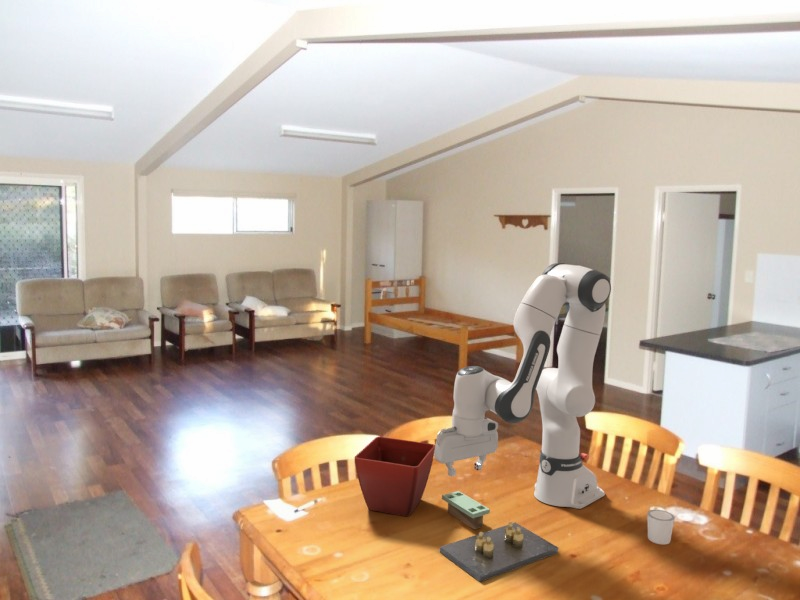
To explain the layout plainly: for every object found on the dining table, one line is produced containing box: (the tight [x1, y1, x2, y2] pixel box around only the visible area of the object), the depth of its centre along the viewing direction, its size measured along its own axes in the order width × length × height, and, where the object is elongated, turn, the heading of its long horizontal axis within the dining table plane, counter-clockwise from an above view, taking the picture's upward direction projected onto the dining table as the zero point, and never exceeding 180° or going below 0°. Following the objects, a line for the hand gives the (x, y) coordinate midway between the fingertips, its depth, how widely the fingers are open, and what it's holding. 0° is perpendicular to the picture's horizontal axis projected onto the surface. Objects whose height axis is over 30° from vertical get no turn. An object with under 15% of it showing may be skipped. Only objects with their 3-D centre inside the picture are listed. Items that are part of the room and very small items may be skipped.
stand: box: [447, 503, 484, 530], centre depth 189 cm, size 3×12×4 cm, turn 33°
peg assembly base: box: [439, 521, 559, 583], centre depth 170 cm, size 26×16×6 cm, turn 123°
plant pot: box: [354, 436, 436, 517], centre depth 196 cm, size 19×19×17 cm
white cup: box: [646, 509, 675, 545], centre depth 179 cm, size 7×7×7 cm
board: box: [441, 490, 491, 518], centre depth 188 cm, size 14×6×1 cm, turn 33°
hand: (465, 472), depth 187 cm, fingers open, 8 cm apart
